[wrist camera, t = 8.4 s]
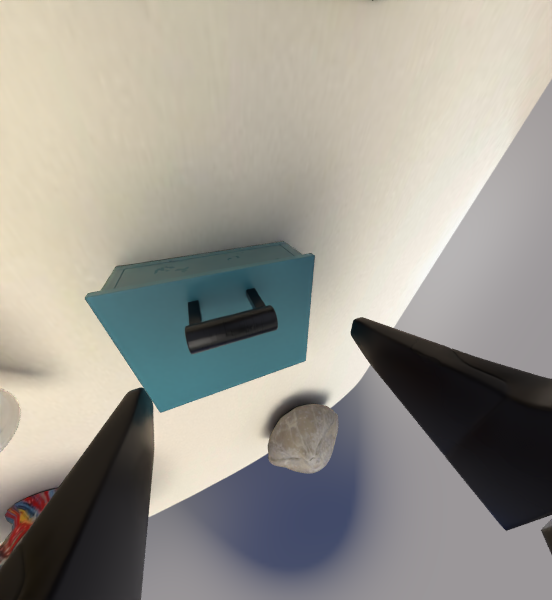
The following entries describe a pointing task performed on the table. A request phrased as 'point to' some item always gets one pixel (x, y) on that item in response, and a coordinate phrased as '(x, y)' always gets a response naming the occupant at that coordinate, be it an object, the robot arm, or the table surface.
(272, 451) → the decorative stone
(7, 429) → the mug
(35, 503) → the vase
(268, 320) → the lid
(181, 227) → the table surface
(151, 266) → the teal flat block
